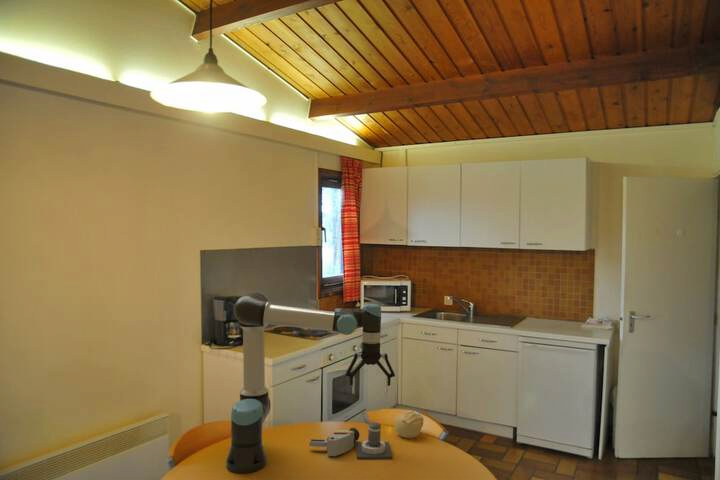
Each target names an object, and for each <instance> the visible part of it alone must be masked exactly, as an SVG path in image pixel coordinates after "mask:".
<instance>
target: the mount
mask: <svg viewBox="0 0 720 480" xmlns="http://www.w3.org/2000/svg"><path fill="white" fill-rule="evenodd" d="M355 449H356V450H355V452H356V460H393V453H392V450H391V446H390V442H389V441H382V440H380V447H377V448H371V447H368V439H366V440H364V441H355Z"/></svg>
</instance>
